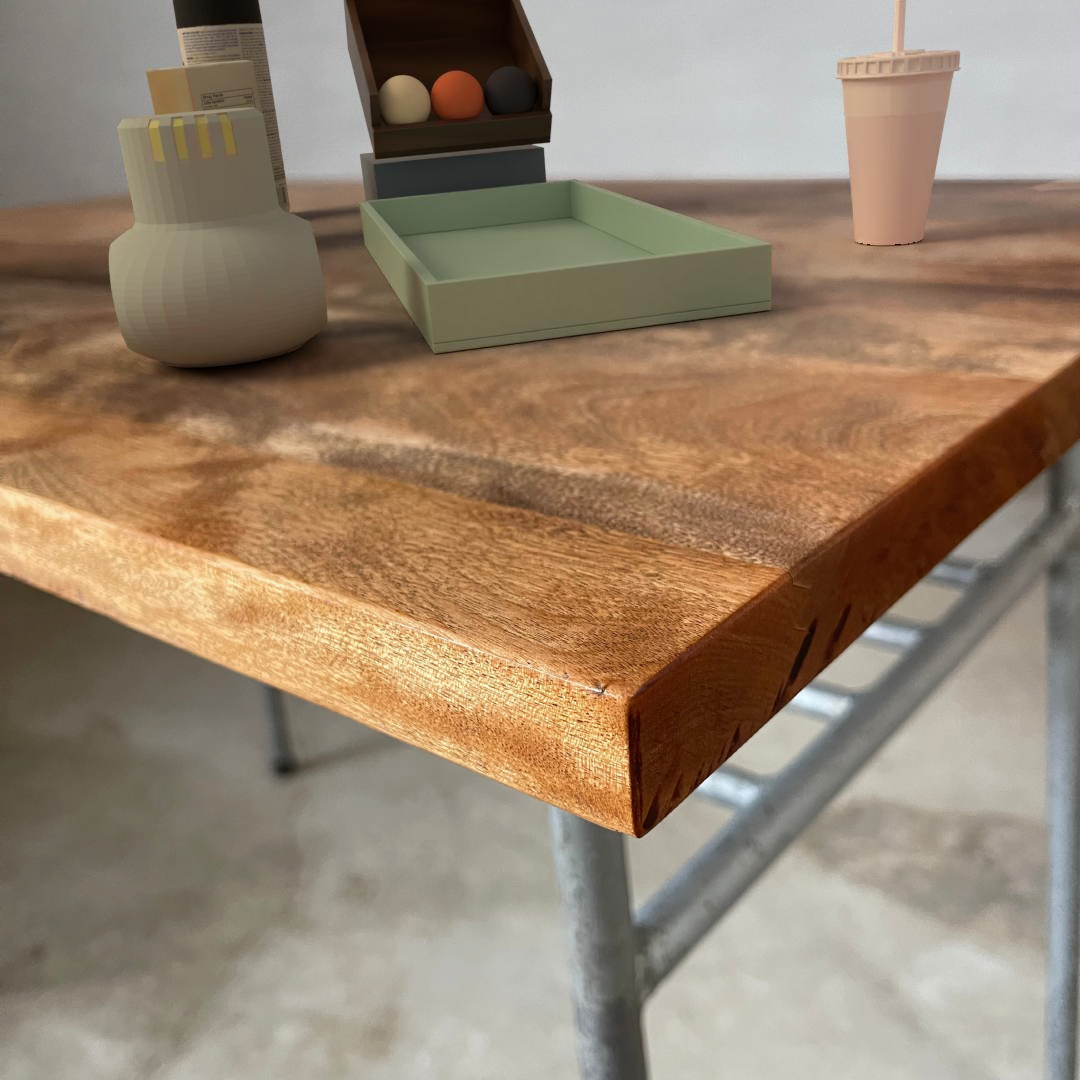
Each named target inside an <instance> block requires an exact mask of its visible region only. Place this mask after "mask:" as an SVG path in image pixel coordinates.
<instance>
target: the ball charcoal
mask: <svg viewBox="0 0 1080 1080" xmlns="http://www.w3.org/2000/svg"><path fill="white" fill-rule="evenodd" d="M536 98H537V92H536V87H535V84H534V81H533V80H532V78H531V77H530V75H529V74H528V73H527V72H525V71H524V70H522V69H520V68H518V67H514V66H507V67H502V68H500V69H498V70H496V71H495V72H494V73H493V74H492V75H491V76H490V77H489V79H488V80H487V82H486V85H485V89H484V99H485V103H486V106H487V108H488V110H489V112H490V113H491V114H492V115H503V114H514V113H525V112H531V111H532V110H533V108H534V106H535V103H536Z"/></svg>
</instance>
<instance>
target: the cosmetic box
mask: <svg viewBox="0 0 1080 1080" xmlns="http://www.w3.org/2000/svg"><path fill="white" fill-rule="evenodd" d="M145 75H146V80H147V84H148V89H149V93H150V98H151V102H152V108H153V112H154V115H161V114H172V113H182V112H194V111H206V110H219V109H233V108H256V109H257V110H258V111H259V112H261V113H262V108H261V103H260V97H259V92H258V86H257V81H256V75H255V69H254V63H253V61H249V60H241V61H228V62H215V63H205V64H195V65H186V66H183V65H179V66H171V67H162V68H154V69H149V70H146V71H145Z"/></svg>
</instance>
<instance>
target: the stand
mask: <svg viewBox="0 0 1080 1080" xmlns="http://www.w3.org/2000/svg"><path fill="white" fill-rule="evenodd" d="M545 157H546V156H545V147H543V146H540V145H537V144H532V145H521V146H511V147H501V148H491V149H480V150H470V151H460V152H449V153H439V154H429V155H418V156H408V157H398V158H387V159H377V160H375V157H374V153H373V152H364V153H359V159H360V166H361V173H362V183H363V189H364V196H365V201H370V200H379V199H389V198H398V197H408V196H418V195H427V194H437V193H447V192H456V191H466V190H476V189H485V188H495V187H505V186H514V185H524V184H534V183H543V182H547V170H546V158H545Z"/></svg>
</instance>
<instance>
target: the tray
mask: <svg viewBox="0 0 1080 1080" xmlns="http://www.w3.org/2000/svg"><path fill="white" fill-rule="evenodd" d="M358 206H359V213H360V220H361V228H362V235H363V236H362V237H363V239H364V240H363V243H364V247H365V248H366V249H367V251H368V253H369V255H370V256H371V257H372V259H373V260H374V262H375V264H376V265H377V267H378V268H379V270H380V271H381V273H382V275H383V276H384V278H385V279H386V280H387V283H388V284H389V285H390V287H391V288H392V290H393V291H394V293H395V295H396V296H397V298H398V300H399V301H400V303H401V305H403V307H404V309H405V311H406V312H407V313H408V315H409V317H410V318H411V320H412V321H413V323H414V324H415V326H416V328H417V329H418V331H419V332H420V334H421V336H422V337H423V339H424V340H425V341H426V344H427V346H429V348H430V349H431V351H432V353H433V354H442V353H451V352H457V351H458V352H459V351H465V350H474V349H481V348H489V347H497V346H503V345H511V344H519V343H520V344H521V343H528V342H535V341H542V340H549V339H550V340H551V339H557V338H558V339H559V338H565V337H572V336H580V335H589V334H596V333H603V332H604V333H605V332H611V331H612V332H613V331H619V330H627V329H635V328H642V327H648V326H649V327H650V326H657V325H665V324H666V325H667V324H673V323H680V322H688V321H697V320H704V319H711V318H713V319H714V318H719V317H726V316H727V317H728V316H736V315H744V314H751V313H757V312H767V311H771V310H772V263H773V261H772V257H773V256H772V255H773V254H772V252H773V251H772V250H773V249H772V248H773V245H772V243H770V242H767V241H765V240H761V239H757V238H755V237H752V236H749V235H746V234H742V233H740V232H737V231H733V230H732V229H731V230H730V229H727V228H724V227H721V226H719V225H715V224H713V223H709V222H706V221H703V220H700V219H697V218H694V217H691V216H688V215H685V214H682V213H680V212H679V213H678V212H677V211H676V212H675V211H672V210H669V209H666V208H663V207H661V206H657V205H655V204H651V203H648V202H645V201H642V200H639V199H636V198H633V197H630V196H627V195H624V194H621V193H618V192H615V191H611V190H610V189H609V190H608V189H606V188H602V187H600V186H596V185H594V184H591V183H588V182H584V181H582V180H578V179H575V178H573V179H563V180H554V181H546V182H543V183H534V184H524V185H514V186H505V187H495V188H485V189H476V190H466V191H456V192H447V193H437V194H427V195H418V196H408V197H398V198H389V199H379V200H370V201H366V200H361V201H359V202H358Z"/></svg>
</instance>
